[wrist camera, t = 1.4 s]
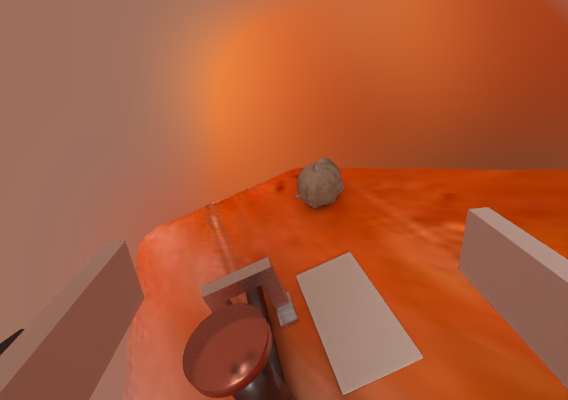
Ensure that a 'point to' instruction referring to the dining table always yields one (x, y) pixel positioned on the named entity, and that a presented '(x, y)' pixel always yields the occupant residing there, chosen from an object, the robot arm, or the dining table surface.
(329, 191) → the grey round lumpy ball
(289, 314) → the grey u-shaped bracket
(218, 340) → the hook
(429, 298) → the dining table surface
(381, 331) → the pad
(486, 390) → the dining table surface
